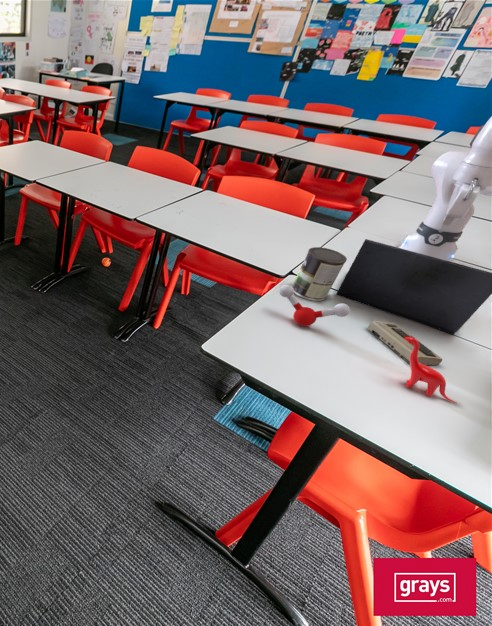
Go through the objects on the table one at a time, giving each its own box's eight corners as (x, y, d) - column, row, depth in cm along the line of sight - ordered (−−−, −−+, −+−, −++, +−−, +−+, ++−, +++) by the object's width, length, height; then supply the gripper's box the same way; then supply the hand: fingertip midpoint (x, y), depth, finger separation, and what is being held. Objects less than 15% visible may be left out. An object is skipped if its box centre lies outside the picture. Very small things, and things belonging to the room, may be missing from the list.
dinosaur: (456, 408, 97) (492, 368, 90) (378, 378, 104) (405, 339, 97) (455, 399, 99) (490, 359, 92) (379, 370, 107) (406, 331, 100)
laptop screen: (365, 238, 121) (364, 240, 121) (506, 276, 105) (506, 278, 104) (338, 290, 136) (337, 291, 136) (457, 330, 120) (456, 331, 120)
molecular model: (337, 333, 119) (354, 304, 114) (332, 341, 116) (349, 312, 110) (272, 308, 129) (284, 280, 124) (266, 315, 126) (279, 286, 120)
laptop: (349, 273, 150) (351, 268, 149) (457, 307, 134) (461, 302, 133) (335, 294, 138) (338, 289, 136) (453, 334, 121) (457, 329, 120)
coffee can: (286, 292, 138) (304, 253, 130) (296, 281, 144) (314, 244, 136) (321, 305, 132) (342, 265, 124) (330, 293, 138) (350, 255, 130)
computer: (439, 365, 109) (447, 355, 107) (410, 365, 109) (418, 356, 107) (391, 329, 122) (398, 320, 120) (366, 329, 122) (371, 320, 120)
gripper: (492, 186, 104) (458, 237, 112) (493, 169, 116) (462, 217, 124) (459, 180, 107) (428, 231, 115) (463, 165, 120) (435, 211, 128)
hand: (446, 223), depth 120 cm, fingers closed
